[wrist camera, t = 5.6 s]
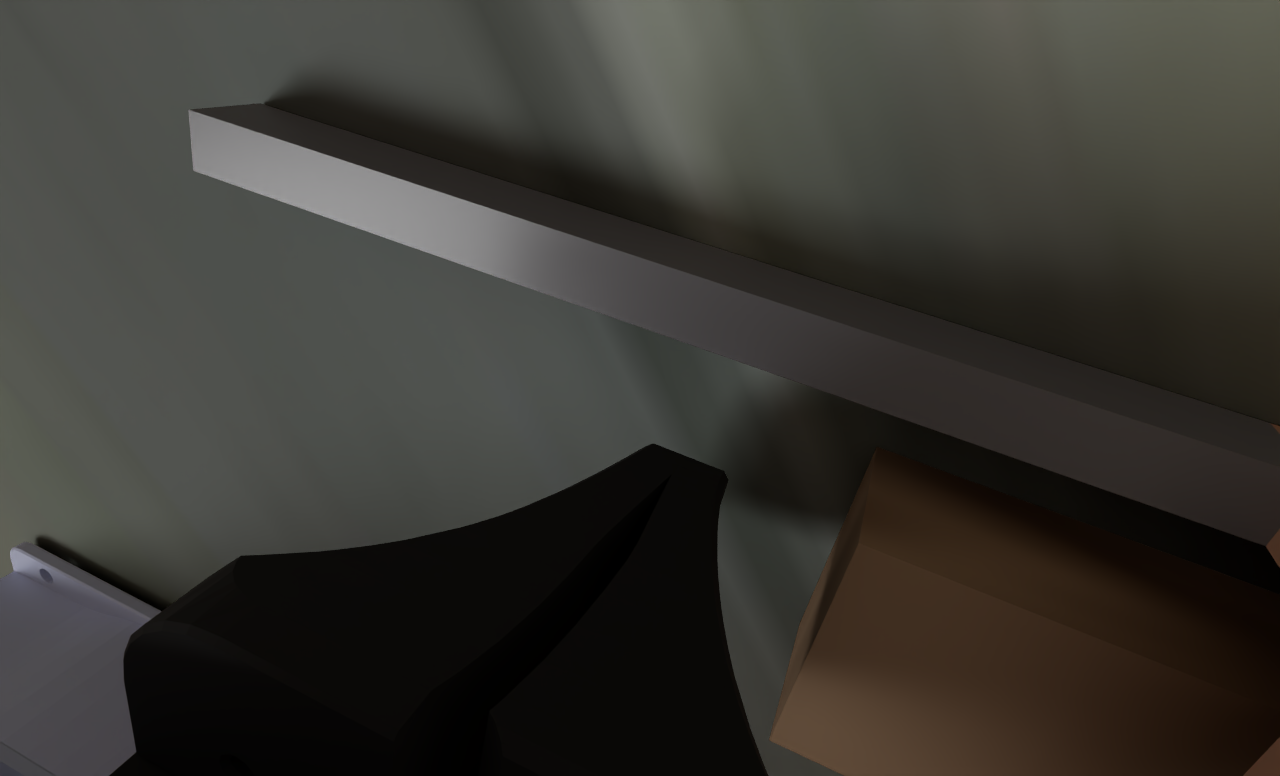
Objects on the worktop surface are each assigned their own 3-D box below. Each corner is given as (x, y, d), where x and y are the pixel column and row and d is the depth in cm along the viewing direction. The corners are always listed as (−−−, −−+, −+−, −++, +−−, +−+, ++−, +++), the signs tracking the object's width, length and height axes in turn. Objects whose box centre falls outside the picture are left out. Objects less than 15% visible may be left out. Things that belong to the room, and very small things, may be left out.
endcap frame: (273, 448, 17) (78, 565, 13) (260, 103, 14) (-12, 126, 10) (1316, 910, 12) (1479, 1299, 9) (1725, 566, 9) (2325, 972, 5)
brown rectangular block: (802, 614, 14) (768, 740, 12) (878, 439, 12) (859, 543, 10) (1270, 814, 12) (1353, 1015, 10) (1444, 645, 10) (1606, 840, 8)
